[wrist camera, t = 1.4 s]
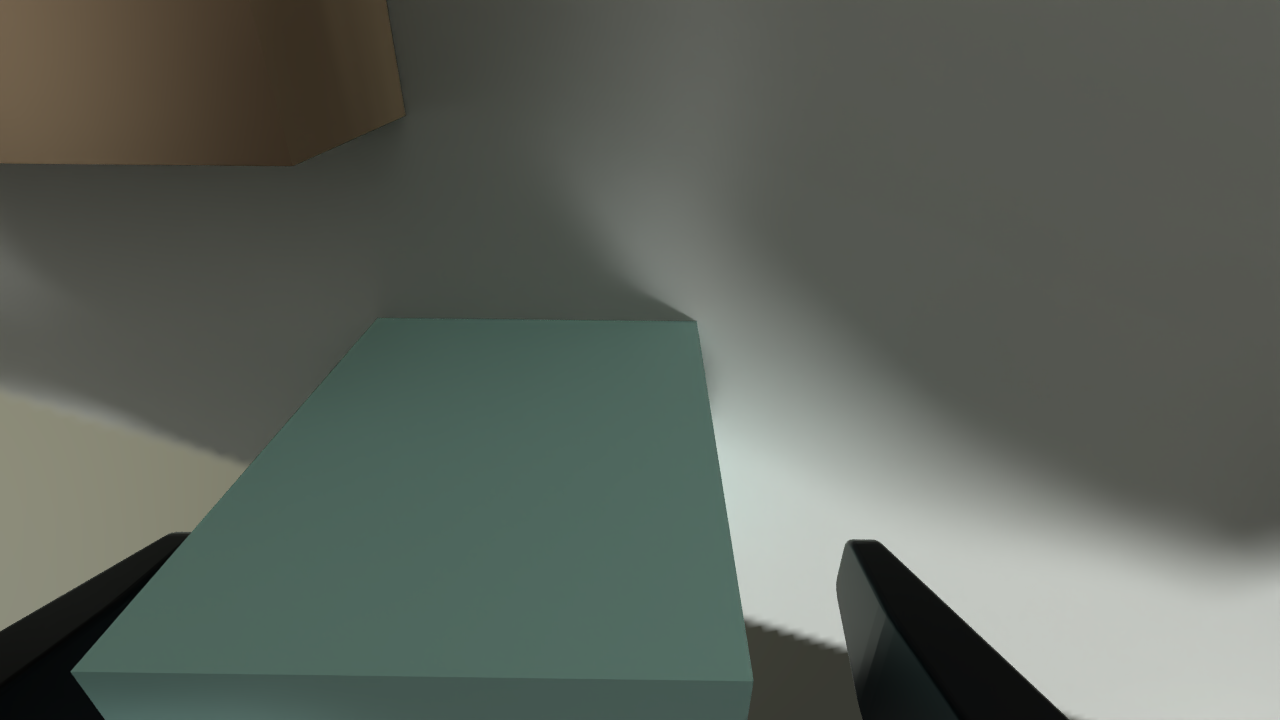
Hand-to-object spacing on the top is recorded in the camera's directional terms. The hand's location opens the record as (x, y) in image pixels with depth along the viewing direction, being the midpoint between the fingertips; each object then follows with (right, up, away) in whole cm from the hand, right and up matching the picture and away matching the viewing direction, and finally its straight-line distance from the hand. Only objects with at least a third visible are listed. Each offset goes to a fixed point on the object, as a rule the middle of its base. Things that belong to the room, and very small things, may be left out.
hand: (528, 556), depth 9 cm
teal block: (0, +1, +2) cm, 3 cm away
